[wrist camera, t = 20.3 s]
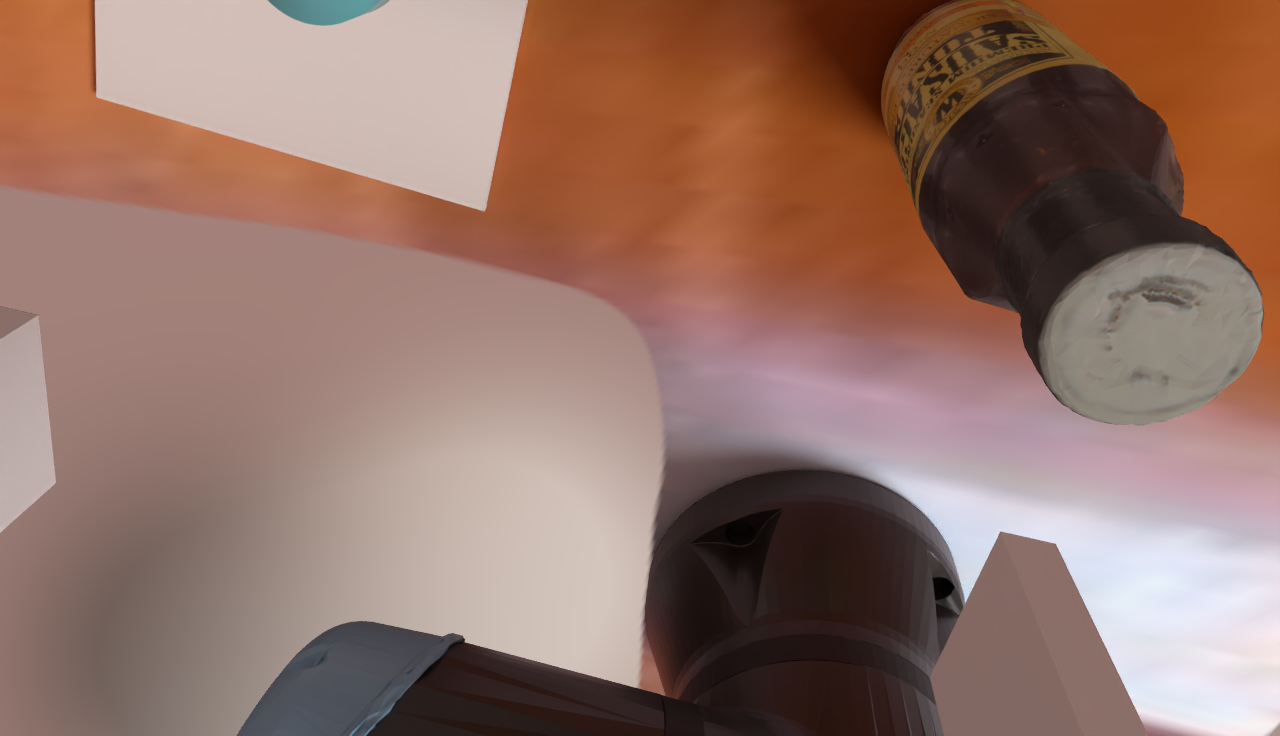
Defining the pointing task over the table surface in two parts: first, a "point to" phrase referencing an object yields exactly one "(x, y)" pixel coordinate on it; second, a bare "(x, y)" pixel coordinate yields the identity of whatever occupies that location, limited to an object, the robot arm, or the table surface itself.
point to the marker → (326, 10)
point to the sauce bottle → (1066, 212)
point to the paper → (327, 82)
